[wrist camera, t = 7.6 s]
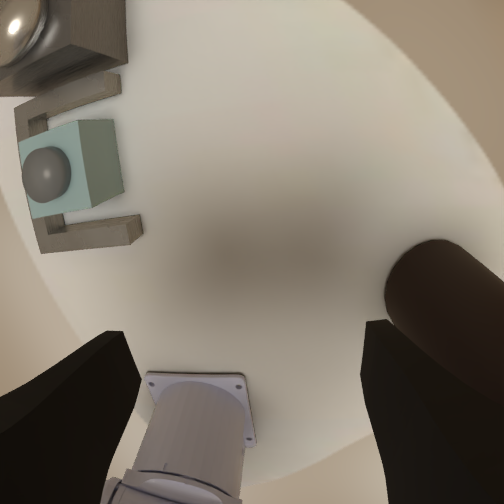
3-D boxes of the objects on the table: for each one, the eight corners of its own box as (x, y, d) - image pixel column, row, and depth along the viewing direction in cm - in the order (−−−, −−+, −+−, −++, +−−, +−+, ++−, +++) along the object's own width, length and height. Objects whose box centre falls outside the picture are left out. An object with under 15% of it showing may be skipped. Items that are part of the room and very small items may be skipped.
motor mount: (151, 232, 19) (96, 285, 12) (56, 243, 20) (-7, 287, 13) (125, -9, 13) (64, -52, 7) (31, 34, 14) (-38, 21, 8)
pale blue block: (125, 191, 18) (81, 213, 14) (68, 201, 19) (21, 224, 14) (114, 119, 17) (66, 120, 12) (57, 136, 17) (6, 144, 12)
